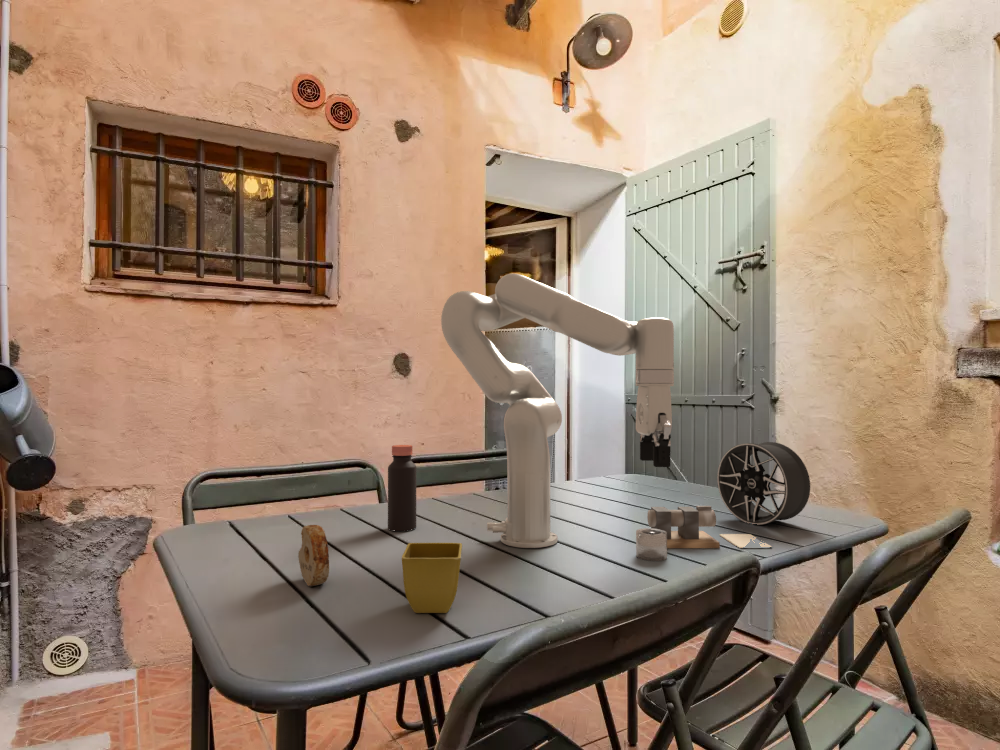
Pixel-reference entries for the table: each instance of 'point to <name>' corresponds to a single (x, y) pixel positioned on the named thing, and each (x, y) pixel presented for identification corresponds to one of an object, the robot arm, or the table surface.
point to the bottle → (402, 489)
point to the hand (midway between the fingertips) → (654, 463)
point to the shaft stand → (684, 526)
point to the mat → (741, 539)
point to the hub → (651, 544)
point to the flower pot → (431, 575)
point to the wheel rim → (762, 482)
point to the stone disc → (314, 555)
